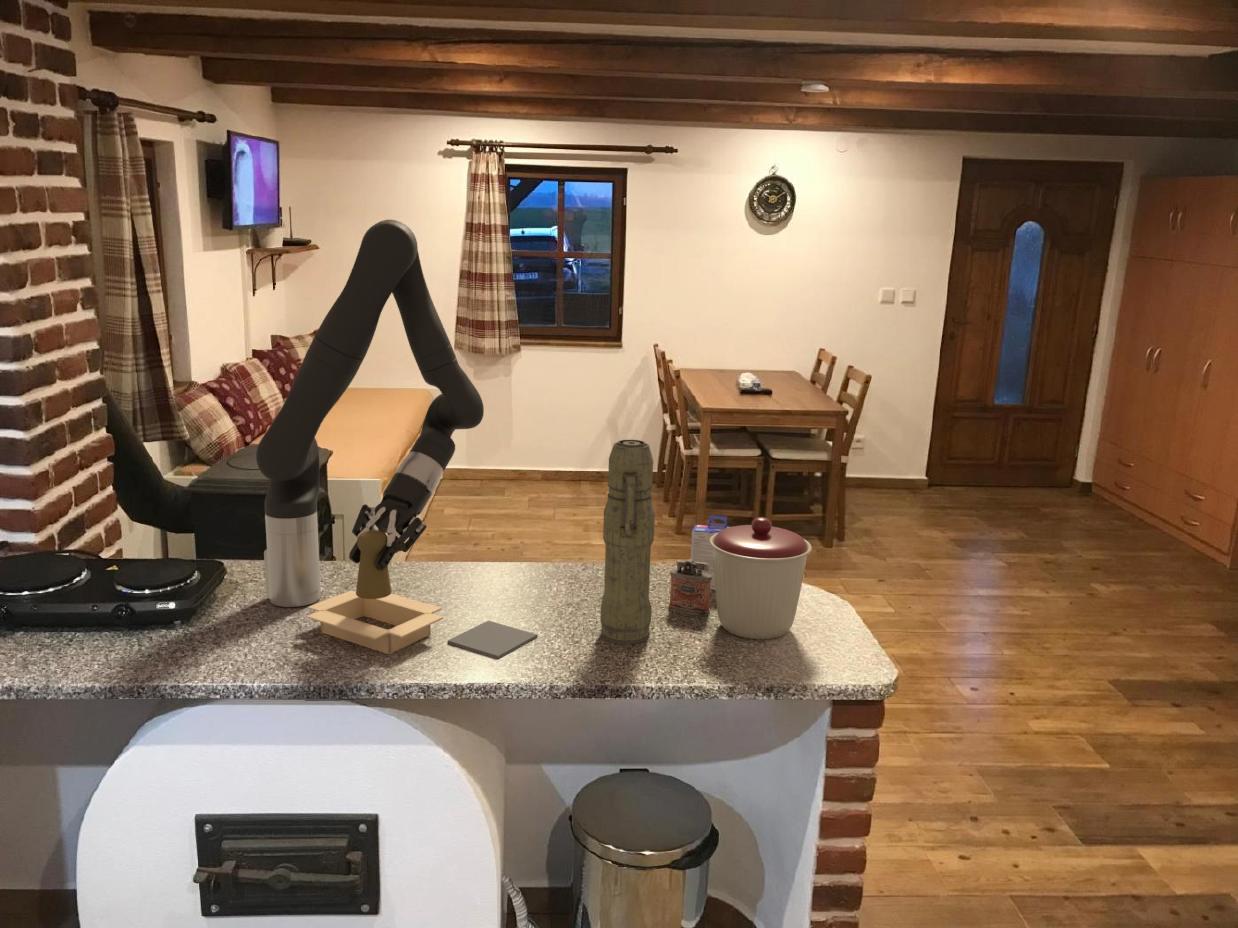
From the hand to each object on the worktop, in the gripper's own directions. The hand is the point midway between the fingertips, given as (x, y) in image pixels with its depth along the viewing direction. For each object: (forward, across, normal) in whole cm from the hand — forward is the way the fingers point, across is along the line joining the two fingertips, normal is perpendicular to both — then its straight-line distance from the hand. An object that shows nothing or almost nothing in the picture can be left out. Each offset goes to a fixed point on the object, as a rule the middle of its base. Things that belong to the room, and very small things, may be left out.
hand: (365, 564), depth 167 cm
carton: (+8, 0, +11) cm, 13 cm away
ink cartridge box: (-33, +39, +50) cm, 71 cm away
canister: (-21, +55, +39) cm, 70 cm away
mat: (+1, +19, +17) cm, 25 cm away
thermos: (-10, +37, +28) cm, 47 cm away
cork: (+3, 0, +6) cm, 6 cm away
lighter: (-22, +41, +40) cm, 61 cm away
